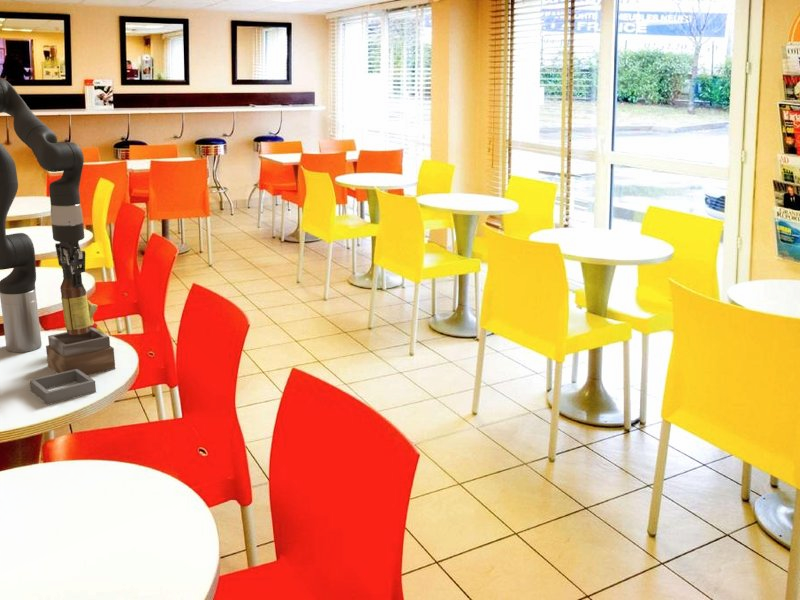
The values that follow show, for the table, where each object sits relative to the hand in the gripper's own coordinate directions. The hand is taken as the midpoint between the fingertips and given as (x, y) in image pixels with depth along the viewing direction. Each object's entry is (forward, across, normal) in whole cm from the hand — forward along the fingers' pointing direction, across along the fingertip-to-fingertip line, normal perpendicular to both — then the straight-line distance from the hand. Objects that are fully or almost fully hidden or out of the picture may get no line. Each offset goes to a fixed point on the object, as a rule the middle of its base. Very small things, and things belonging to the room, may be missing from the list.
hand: (73, 284), depth 203 cm
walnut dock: (+23, 0, 0) cm, 23 cm away
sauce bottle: (+14, 0, 0) cm, 14 cm away
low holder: (+23, +13, -10) cm, 29 cm away
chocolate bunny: (+24, -12, +7) cm, 27 cm away
